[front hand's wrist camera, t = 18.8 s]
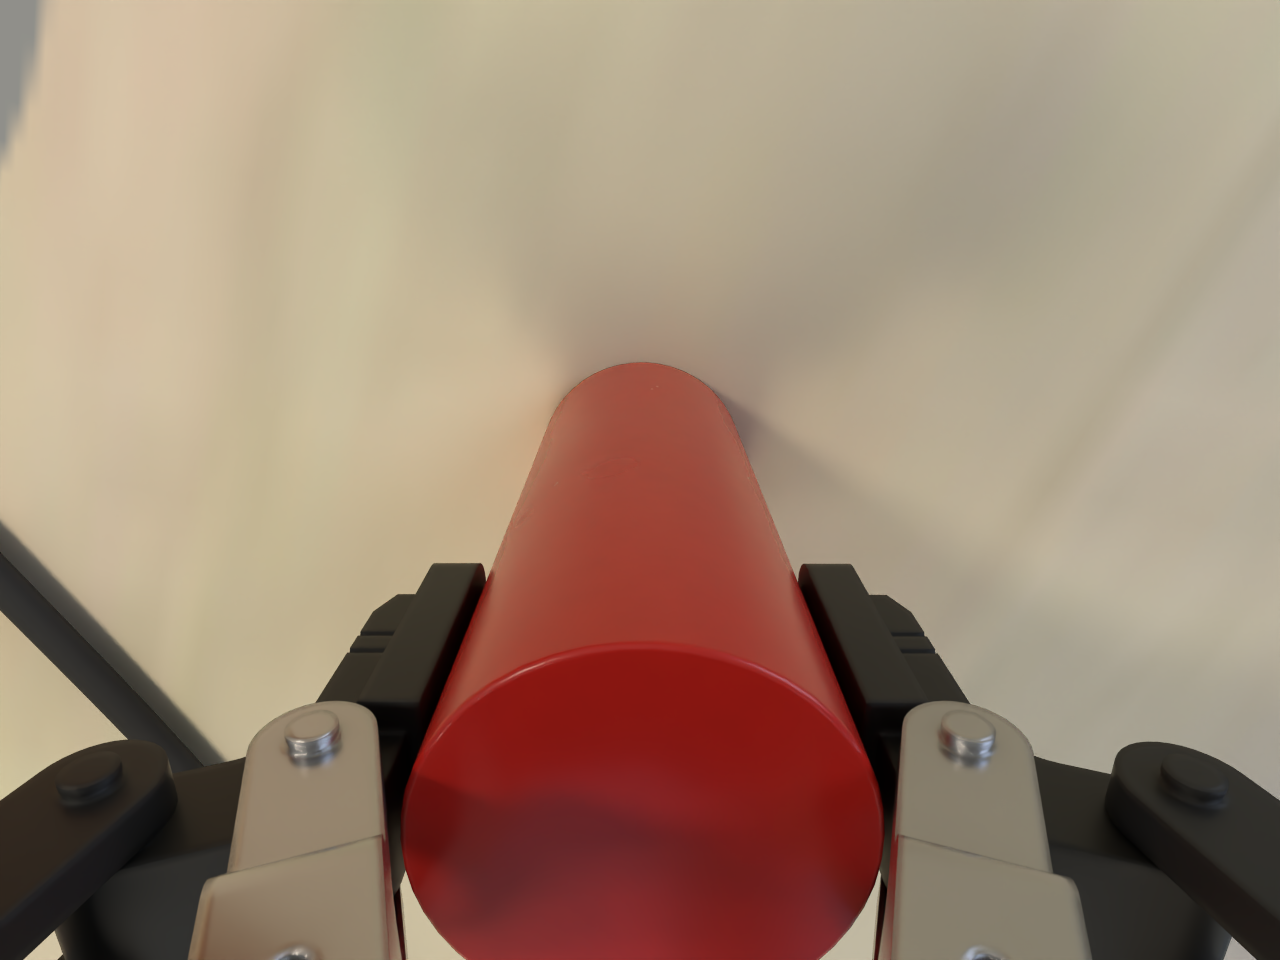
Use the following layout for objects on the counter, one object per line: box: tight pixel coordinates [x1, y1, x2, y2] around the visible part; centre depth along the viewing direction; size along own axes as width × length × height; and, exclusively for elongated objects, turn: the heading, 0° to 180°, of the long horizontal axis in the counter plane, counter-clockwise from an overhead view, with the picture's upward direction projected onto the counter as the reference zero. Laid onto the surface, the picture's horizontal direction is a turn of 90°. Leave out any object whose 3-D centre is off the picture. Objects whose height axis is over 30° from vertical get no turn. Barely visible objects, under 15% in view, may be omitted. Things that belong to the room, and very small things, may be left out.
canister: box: [400, 363, 885, 960], centre depth 13 cm, size 5×5×12 cm
